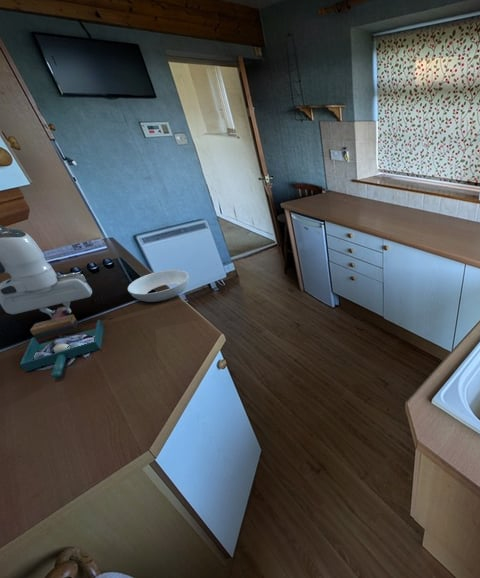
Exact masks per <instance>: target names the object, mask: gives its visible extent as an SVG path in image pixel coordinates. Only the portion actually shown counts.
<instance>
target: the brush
mask: <svg viewBox="0 0 480 578" xmlns="http://www.w3.org/2000/svg"><path fill="white" fill-rule="evenodd" d="M63 308H66V305H64V306H61V307H57V309H56V312H55V314H54V315H53V317H52V318H51V317H50V319H48V320H44V321H40V322H35V323H34V324H33V325H32V327H31V328H30V330H29V331H30V333H31V335H32V336H33V338H35V339H36V340H37V341H38V340H41V339H44V338H48V337H52V336H57V335H60V334H63V333H68V332H71V331H75V330H76V329H77V327H78V325H79V322H78V320H77V318H76V316H75V315H74V314H73V313H72V314H64V312H63V311H62V310H63Z"/></svg>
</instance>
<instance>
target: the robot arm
mask: <svg viewBox="0 0 480 578" xmlns="http://www.w3.org/2000/svg"><path fill="white" fill-rule="evenodd" d="M2 274H8V275H10V278H8V279H6V280H3V281H2V282H0V306H1V308H2V309H3V311H4V312H5V313H6V314H9V315H17V314H22V313H26V312H30V311H35V310H39V311H40V312H42V313H45V314H46V315H48V316H49V317H50V319H51V318H52V317H53V315H54V314H55V312H56V311H57V309H54V310H51V309H50V308H48V307H52V306H56V305H61V304H62V305H63V306H66V308H63V310H62V311H63V312H64V314H67V315H70V314H71V313H72V309H71V308H70V306H71V302H73V301H78V300H82V299H87V298H90V297H91V296H92V295H93V290H92V287H91V286H90V285H89V283H88V282H87V278H86V277H85V275H83V274H82V273H79V272H78V273H77V272H69V273H65V274H59V275H58V274H57V273H56V271H55V270H54V268H53V267H52V265H51V264H50V263H49V262H48V261H46V258H45V254H44V252H43V251H42V250H41V248H40V246H39V245H38V244H37V242H36V241H35V240H34V238H33V237H32V236H30V235H29V234H28V233H27V232H25V231H24V230H21V229H14V228H6V227H4V226H3V225H1V224H0V275H2Z"/></svg>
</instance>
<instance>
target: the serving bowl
mask: <svg viewBox="0 0 480 578" xmlns="http://www.w3.org/2000/svg"><path fill="white" fill-rule="evenodd" d="M189 284H190V276H189V273H188V272H187V271H185V270H181V269H166V270H160V271H159V270H158V271H155V272H152V273H149V274H145V275H143V276H141V277H140V276H139V278H136V279H135V280H133V281H132V282H130V283H129V285H128V286H127V291H128V292H129V294H130V295H131V297H133V298H134V299H136V300H138V301H141V302H146V303H156V302H163V301H166V300H170V299H173V298H175V297H177V296H179V295H181V294H182V293H183V292H184V291H185V290H186V289H187V288H188V286H189ZM166 285H175V286H172V287H171V288H168V289H164V290H160V291H156V292H150V291H152V290H154V289H156V288H159V287H162V286H166ZM149 292H150V293H149Z"/></svg>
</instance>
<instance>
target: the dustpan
mask: <svg viewBox="0 0 480 578" xmlns="http://www.w3.org/2000/svg"><path fill="white" fill-rule="evenodd" d="M104 330H105V326H104V324H103V323H102V322H101V320H100V319H98V320H96V325H95V328H92V329H89V330H85V331H82V332H78V333H75V334H73V335H78V334H86V335H90V336H93V335H95V337H94V342H91V343H87V344H84V345H81V346H77V347H74V348H71V349H67V350H64V351H61V352H57V353H54V354H51V355H47V356H44V357H41V358H37V359H34V360H33V358H34V355H35V353H36V352H37V351H41V350H43V349H44V348H45V346H46V345H48V344H49V343H51V342H52V341H53V340H50V341H46V342H43V343H39V342H38V339H37V340H36V339H35V337H32V338H31V339H30V341H29V343H28V345H27V347H26V350H25V352H24V354H23V356H22V358H21V360H20V363H19V366H20V367H21V368H22V369H23V370H24V371H25V372H30V371H34V370H36V369H35V368H37V369H39V368H38V367H41V366H44V367H46V366H45V365H47V366H49V365H48V364H50V365H52V364H51V363H54V362H55V363H54V364H53V368H52V370H51V373H50V377H51V378H53V379H58V378H60V377H61V376H62V375H63V371H64V367H65V364H66V360H68V359H67V358H70V357H73V358H75V357H74V356H76V357H78V356H77V355H79V356H81V355H80V354H82V355H84V354H83V353H86V354H88V353H87V352H89V353H91V352H90V351H92V352H95V351H99V350H101V348H102V344H103V343H102V342H103V338H104V337H103V336H104ZM70 359H71V358H70ZM41 368H42V367H41ZM33 369H34V370H33Z"/></svg>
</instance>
